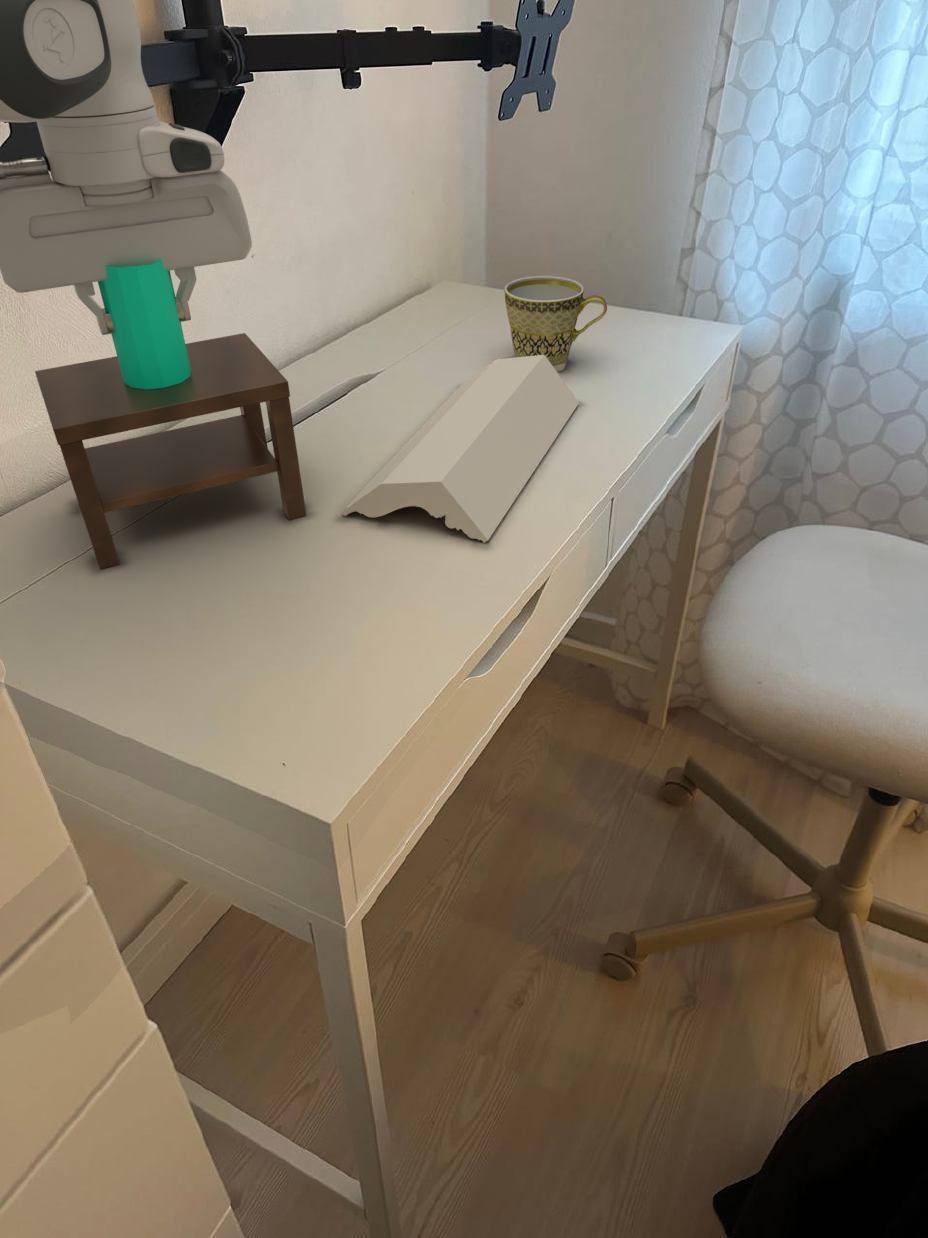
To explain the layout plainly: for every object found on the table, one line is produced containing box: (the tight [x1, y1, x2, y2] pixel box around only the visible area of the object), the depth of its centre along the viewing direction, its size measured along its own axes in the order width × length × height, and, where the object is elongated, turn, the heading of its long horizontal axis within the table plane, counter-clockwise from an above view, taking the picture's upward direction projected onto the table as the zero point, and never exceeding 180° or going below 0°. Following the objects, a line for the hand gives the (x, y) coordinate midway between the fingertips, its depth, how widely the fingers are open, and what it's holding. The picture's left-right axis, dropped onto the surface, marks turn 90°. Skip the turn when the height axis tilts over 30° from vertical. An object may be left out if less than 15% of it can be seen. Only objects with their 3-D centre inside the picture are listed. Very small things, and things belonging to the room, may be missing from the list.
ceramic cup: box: [503, 275, 608, 373], centre depth 114 cm, size 13×10×10 cm
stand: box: [34, 332, 307, 570], centre depth 86 cm, size 20×14×14 cm
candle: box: [97, 260, 191, 389], centre depth 78 cm, size 6×6×12 cm
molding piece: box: [341, 355, 580, 544], centre depth 98 cm, size 32×12×10 cm
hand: (146, 325), depth 78 cm, fingers closed on candle, 5 cm apart
